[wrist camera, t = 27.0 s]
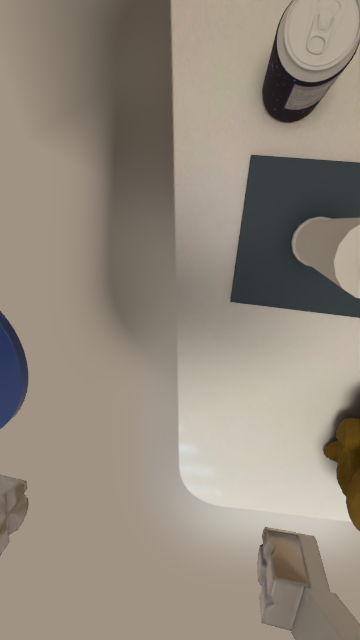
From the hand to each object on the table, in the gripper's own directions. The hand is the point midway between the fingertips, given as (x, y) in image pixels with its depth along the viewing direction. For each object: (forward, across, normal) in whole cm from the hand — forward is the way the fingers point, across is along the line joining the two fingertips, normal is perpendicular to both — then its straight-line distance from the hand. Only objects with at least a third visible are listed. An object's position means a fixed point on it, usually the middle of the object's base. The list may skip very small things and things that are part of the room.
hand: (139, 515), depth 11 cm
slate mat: (+31, -11, -8) cm, 34 cm away
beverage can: (+31, -6, -22) cm, 39 cm away
